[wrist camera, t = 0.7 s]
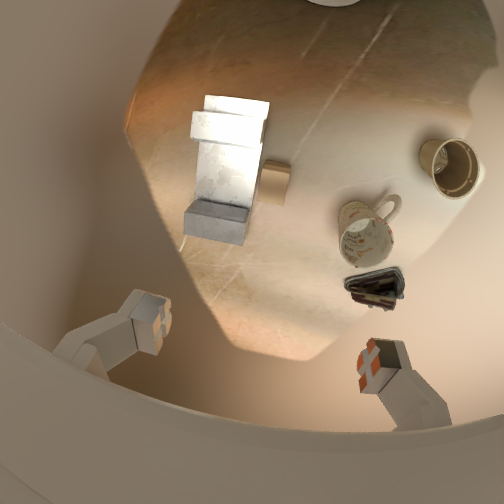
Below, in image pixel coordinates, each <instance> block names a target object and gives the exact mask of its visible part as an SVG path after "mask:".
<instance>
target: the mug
mask: <svg viewBox="0 0 504 504" xmlns="http://www.w3.org/2000/svg"><path fill="white" fill-rule="evenodd" d="M388 201H394V202H395V205H394V208H393V210H392V211H391V213H390V214H388V215H387V216H386V217H385V218H384V219H383V220H382V219H381V218H380V217H379V216H378V215H377V214H376V213H375V211H376V210H377V209H379V208H380V207H381V206H382V205H383V204H385V203H386V202H388ZM401 203H402V201H401V198H400V196H398V195H396V194H394V195H389V196H387V197H385V198H383V199H382V200H380V201H379V202H378V203H377V205H376V206H375V207H374V208H373V209H372V210H371V209H370V208H369V207H368V206H367V205H365V204H364V203H362V202H358V201H354V202H350V203H347V204H346V205H345V206H343V207H342V209H341V210H340V212H339V217H338V224H339V248H340V253H341V255H342V257H343V259H344V260H345V261H346V262H347V263H348V264H350V265H351V266H353V267H356V268H361V269H367V268H372V267H375V266H377V265H379V264H380V263H382V262H383V261H384V260H385V259H386V258H387V257H388V256H389V254H390V253H391V251H392V248H393V243H394V239H393V233H392V231H391V229H390V227H389V226H388V225H387V224H388V223H389V222H390V221H391V220H392V219H393V218H394V217H395V216H396V215H397V214H398V212H399V210H400V208H401Z"/></svg>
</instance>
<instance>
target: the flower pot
mask: <svg viewBox="0 0 504 504" xmlns="http://www.w3.org/2000/svg"><path fill="white" fill-rule="evenodd" d="M442 148H443V149H444V150H445V154H444V152H443V150H442ZM419 160H420V164H421V166H422V168H423V169H424V170H425V171H426V172H427V173H428V175H429V176H430V177H431V178H432V179H433V182H434V185H435V187H436V188H437V190H438V191H439V192H440V193H441V194H442V195H443V196H445V197H446V198H449V199H460V198H463V197H465V196H466V195H468V194H469V193H470V192H471V191H472V190H473V188H474V187H475V185H476V183H477V181H478V177H479V171H480V166H479V160H478V156H477V154H476V152H475V150H474V148H473V147H472V146H471V145H470V144H469V143H468V142H466V141H465V140H463V139H459V138H452V139H448V140H446V141H440V140H430V141H427V142H426V143H425V144H424V145H423V146H422V148H421V151H420V155H419ZM440 167H441V169H440V170H438V171H436V169H438V168H440Z"/></svg>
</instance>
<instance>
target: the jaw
mask: <svg viewBox="0 0 504 504" xmlns="http://www.w3.org/2000/svg"><path fill="white" fill-rule="evenodd" d="M249 217H250V212H248V209H243V208H238V207H233V206H227V205H222V204H217V203H211V202H206V201H200V200H195V201H194V202H193V203H192V204H191V205H190V206H189V207H188V209H187V210H186V211H185V212H184V232H183V234H186V235H191V236H196V237H200V238H205V239H210V240H215V241H220V242H225V243H230V244H235V245H240V246H243V243H244V240H245V237H246V234H247V229H248V223H249Z"/></svg>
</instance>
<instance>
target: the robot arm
mask: <svg viewBox="0 0 504 504" xmlns="http://www.w3.org/2000/svg"><path fill="white" fill-rule="evenodd" d="M308 1H310V2H313V3H316V4H320V5H325V6H346V5H351V4H354V3H356V2H358V1H360V0H308ZM170 307H171V300H170V299H169V298H166V297H163V296H159V295H156V294H152V293H149V292H145V291H142V290H139V289H135V290H133V291H132V293H131V294H130V296H129V297H128V298H127V300H126V301H125V302H124V304H123V305H122V307H121V308H120V309H119V311H118V312H117V313H116V314H115V313H112V314H109V315H107V316H105V317H103V318H100V319H98V320H96V321H93V322H91V323H89V324H86V325H84V326H82V327H80V328H78V329H75V330H73V331H70V332H68V333H67V334H66V335H65V336H64V338H63V339H62V340H61V342H60V343H59V345H58V346H57V347H56V348H55V350H54V351H53V353H52V354H51V353H49V352H48V351H46V350H44V349H42V348H40V347H39V346H37V345H35V344H34V343H32V342H30V341H29V340H27V339H26V338H24V337H22V336H20V335H19V334H18V333H16V332H15V331H13V330H11V329H10V328H9V327H7V326H6V325H4V324H3V323H1V322H0V504H504V415H497V416H493V417H489V418H485V419H481V420H477V421H472V422H467V423H462V424H456V425H452V422H451V418H450V414H449V410H448V407H447V403H446V402H445V401H444V400H443V399H442V398H441V397H440V396H439V394H438V393H437V392H436V391H435V390H434V389H433V388H432V387H431V386H430V385H429V384H428V383H427V382H426V381H425V380H424V379H423V378H422V377H421V376H420V375H419V373H418V372H417V371H416V370H412V367H411V363H410V360H409V357H408V354H407V351H406V348H405V345H404V342H403V341H399V340H388V339H379V338H371V339H369V340H368V342H367V344H366V345H367V348H366V349H364V350H363V351H362V352H361V353H360V355H359V357H358V361H357V371H358V373H359V374H360V375H361V378H360V379H359V386H360V393H365V394H378V397H379V399H380V400H381V402H382V403H383V405H384V406H385V408H386V409H387V411H388V412H389V414H390V415H391V416H392V418H393V419H394V421H395V423H396V424H397V427H396V428H395V429H393V430H392V431H391V432H368V433H365V432H364V433H362V432H361V433H360V432H352V433H351V432H326V431H312V430H301V429H291V428H282V427H275V426H268V425H261V424H255V423H249V422H244V421H238V420H233V419H228V418H224V417H219V416H215V415H210V414H206V413H202V412H199V411H195V410H191V409H187V408H184V407H180V406H177V405H173V404H170V403H167V402H163V401H161V400H157V399H155V398H152V397H149V396H145V395H143V394H140V393H137V392H135V391H132V390H129V389H127V388H124V387H122V386H119V385H116V384H114V383H111V382H110V381H109V378H108V376H107V373H106V372H107V371H108V370H110V369H111V368H113V367H115V366H116V365H117V364H119V363H121V362H122V361H124V360H125V359H127V358H128V357H130V356H131V355H133V354H134V353H136V352H137V351H138V350H139V351H143V352H146V353H150V354H153V355H157V354H158V352H159V350H160V348H161V346H162V344H163V341H162V338H163V337H165V336H167V334H168V332H169V329H170V325H171V319H172V318H171V313H170V312H169V309H170Z"/></svg>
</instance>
